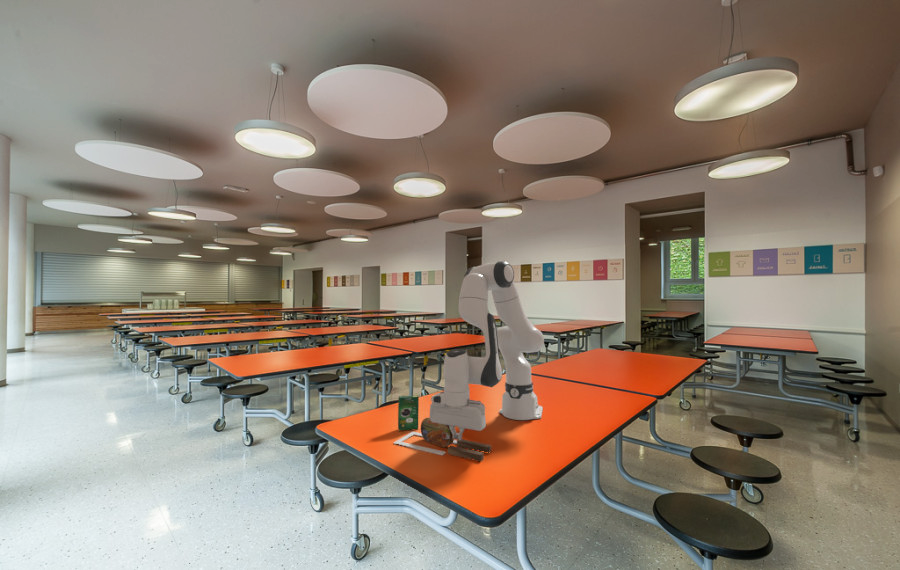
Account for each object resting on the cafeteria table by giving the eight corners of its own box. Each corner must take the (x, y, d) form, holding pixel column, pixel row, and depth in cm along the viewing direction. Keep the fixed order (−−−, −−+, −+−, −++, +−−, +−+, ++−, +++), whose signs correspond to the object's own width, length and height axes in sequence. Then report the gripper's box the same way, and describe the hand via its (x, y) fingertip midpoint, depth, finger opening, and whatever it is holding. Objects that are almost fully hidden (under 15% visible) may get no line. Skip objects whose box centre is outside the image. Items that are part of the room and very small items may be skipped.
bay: (412, 432, 134) (412, 431, 134) (459, 442, 124) (459, 441, 124) (393, 443, 123) (393, 442, 123) (442, 455, 113) (442, 454, 113)
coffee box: (418, 427, 140) (417, 394, 140) (419, 429, 137) (418, 396, 138) (397, 429, 138) (397, 395, 138) (398, 431, 135) (398, 397, 136)
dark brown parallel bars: (459, 444, 122) (459, 438, 122) (491, 451, 116) (491, 445, 116) (447, 454, 114) (447, 447, 114) (481, 461, 109) (480, 455, 109)
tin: (420, 439, 127) (419, 415, 128) (426, 436, 129) (426, 413, 130) (449, 450, 117) (449, 425, 117) (455, 447, 119) (455, 422, 120)
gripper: (488, 399, 116) (489, 441, 115) (436, 392, 126) (436, 431, 125) (480, 404, 110) (481, 448, 110) (427, 396, 120) (427, 437, 120)
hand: (457, 439), depth 117 cm, fingers closed
